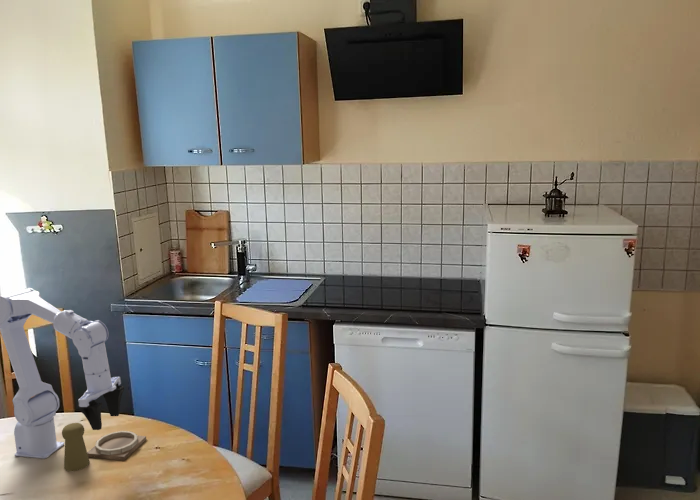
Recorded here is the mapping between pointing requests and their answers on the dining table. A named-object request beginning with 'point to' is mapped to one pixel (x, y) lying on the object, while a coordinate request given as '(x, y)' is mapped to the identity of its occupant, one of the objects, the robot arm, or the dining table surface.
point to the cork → (74, 447)
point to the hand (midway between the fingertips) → (106, 422)
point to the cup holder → (116, 445)
